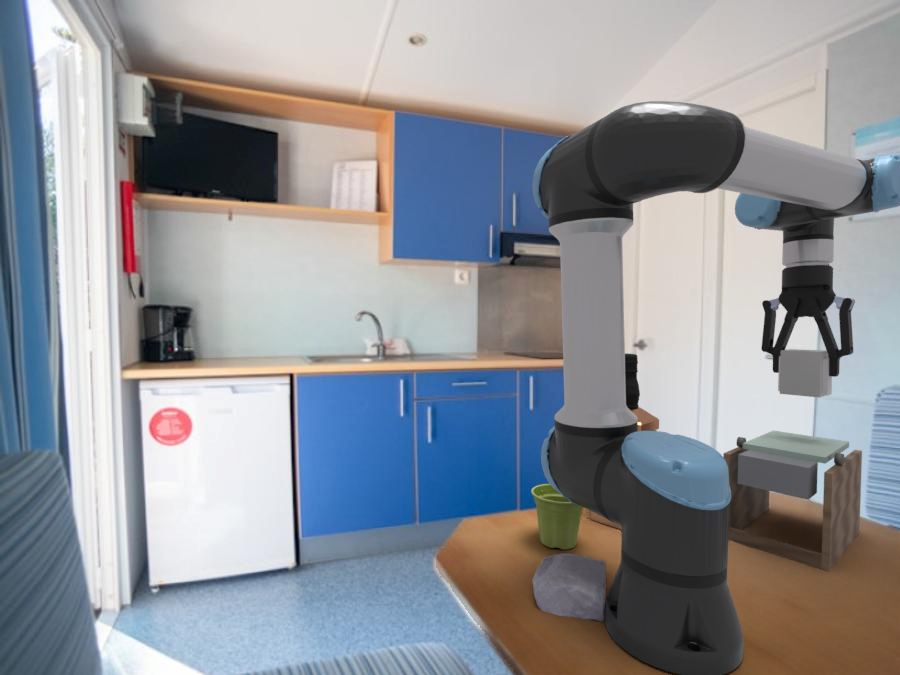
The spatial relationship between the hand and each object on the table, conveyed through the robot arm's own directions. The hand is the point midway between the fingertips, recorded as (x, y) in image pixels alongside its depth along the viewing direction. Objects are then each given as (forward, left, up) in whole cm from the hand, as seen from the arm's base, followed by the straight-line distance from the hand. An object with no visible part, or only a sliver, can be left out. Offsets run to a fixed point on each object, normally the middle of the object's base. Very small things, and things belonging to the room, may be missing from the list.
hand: (804, 392), depth 89 cm
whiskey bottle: (-21, +23, -26) cm, 41 cm away
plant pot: (-39, +25, -26) cm, 53 cm away
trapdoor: (-5, 0, -15) cm, 16 cm away
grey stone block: (0, 0, 0) cm, 0 cm away
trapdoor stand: (-4, 0, -25) cm, 26 cm away
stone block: (-51, +15, -26) cm, 59 cm away
